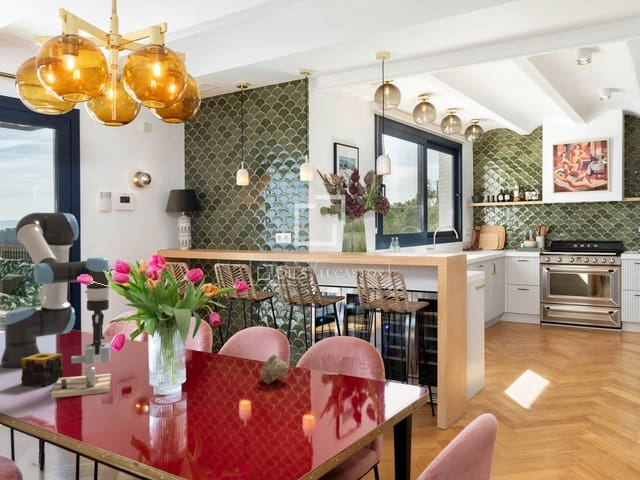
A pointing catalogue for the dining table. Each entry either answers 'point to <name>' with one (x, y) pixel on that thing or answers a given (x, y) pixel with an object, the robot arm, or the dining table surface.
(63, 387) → the dowel
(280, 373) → the rock
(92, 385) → the post
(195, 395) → the dining table surface
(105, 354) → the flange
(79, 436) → the dining table surface
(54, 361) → the yellow black cube
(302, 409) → the dining table surface
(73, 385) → the board
